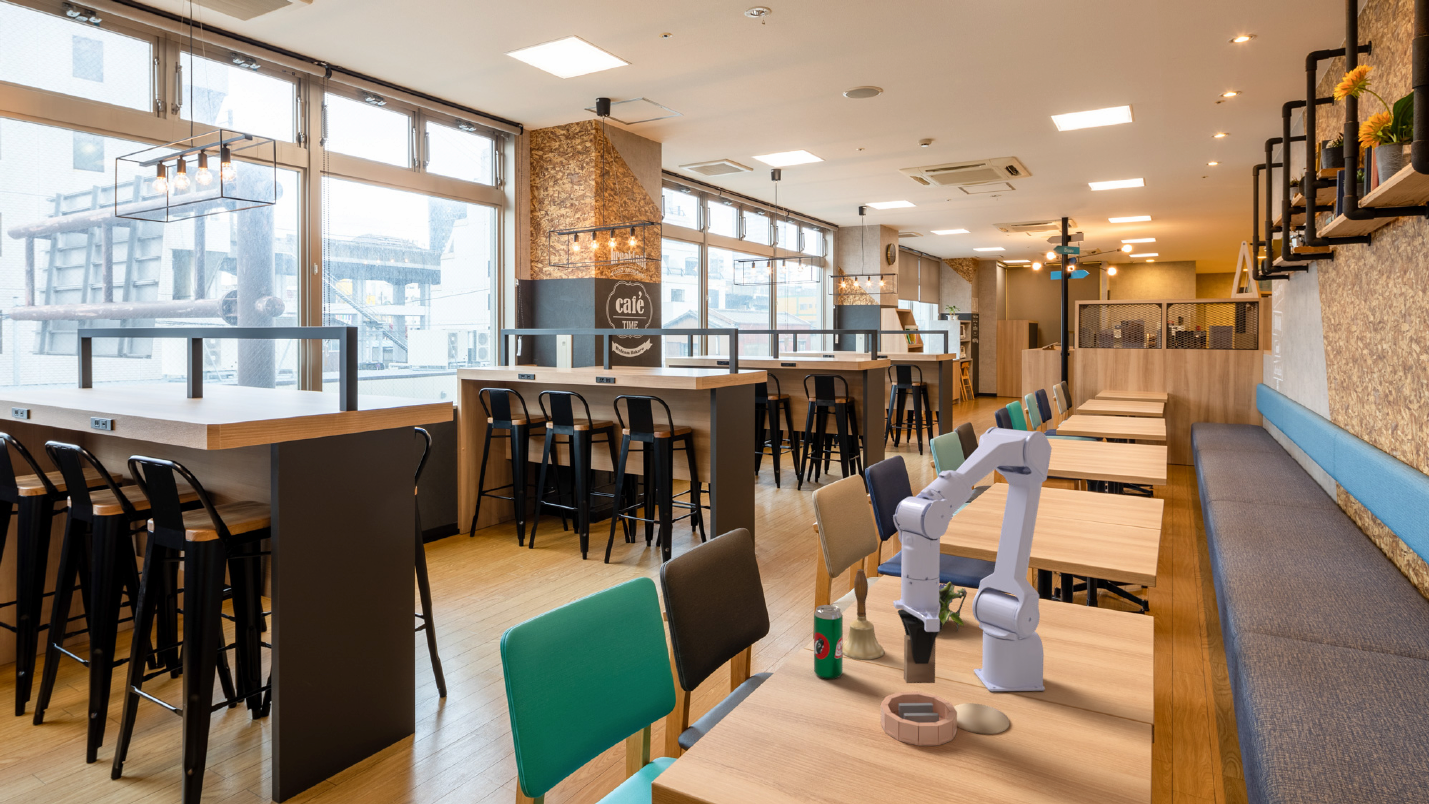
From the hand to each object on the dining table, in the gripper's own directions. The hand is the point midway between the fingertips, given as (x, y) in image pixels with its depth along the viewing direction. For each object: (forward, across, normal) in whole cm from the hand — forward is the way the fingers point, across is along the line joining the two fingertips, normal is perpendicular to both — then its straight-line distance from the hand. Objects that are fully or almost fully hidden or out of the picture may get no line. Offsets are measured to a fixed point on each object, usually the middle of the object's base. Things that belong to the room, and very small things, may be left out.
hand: (919, 659), depth 120 cm
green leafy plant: (+10, -38, +15) cm, 42 cm away
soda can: (+10, -16, -12) cm, 22 cm away
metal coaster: (+10, +1, +9) cm, 13 cm away
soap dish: (+10, +3, -1) cm, 10 cm away
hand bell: (+10, -26, -4) cm, 28 cm away
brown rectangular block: (+3, 0, 0) cm, 3 cm away
